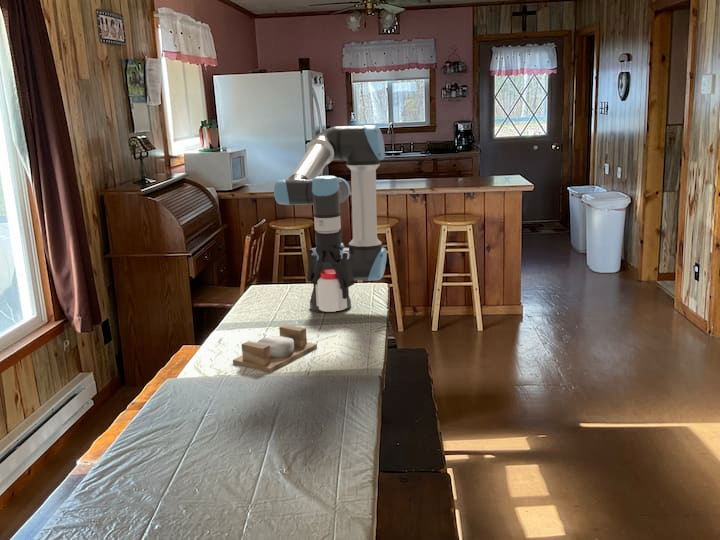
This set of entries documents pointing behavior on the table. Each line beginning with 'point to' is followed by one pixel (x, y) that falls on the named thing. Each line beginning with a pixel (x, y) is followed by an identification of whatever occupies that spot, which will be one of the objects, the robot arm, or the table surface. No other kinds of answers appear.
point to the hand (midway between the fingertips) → (331, 306)
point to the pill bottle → (328, 291)
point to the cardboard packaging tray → (275, 349)
